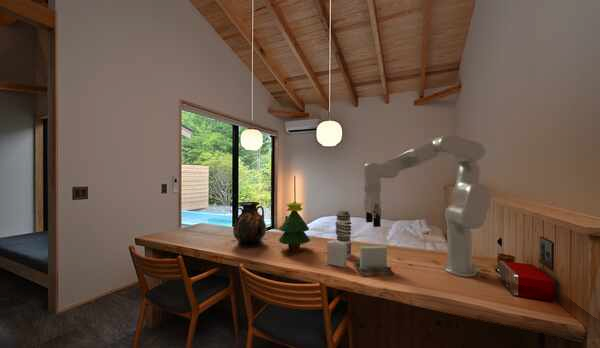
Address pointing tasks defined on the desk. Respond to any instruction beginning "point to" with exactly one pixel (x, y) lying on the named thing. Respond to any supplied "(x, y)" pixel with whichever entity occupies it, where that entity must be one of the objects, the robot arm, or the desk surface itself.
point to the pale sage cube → (373, 256)
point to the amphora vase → (249, 225)
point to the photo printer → (336, 253)
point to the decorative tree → (294, 228)
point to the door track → (374, 271)
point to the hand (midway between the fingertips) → (372, 224)
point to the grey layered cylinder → (344, 229)
